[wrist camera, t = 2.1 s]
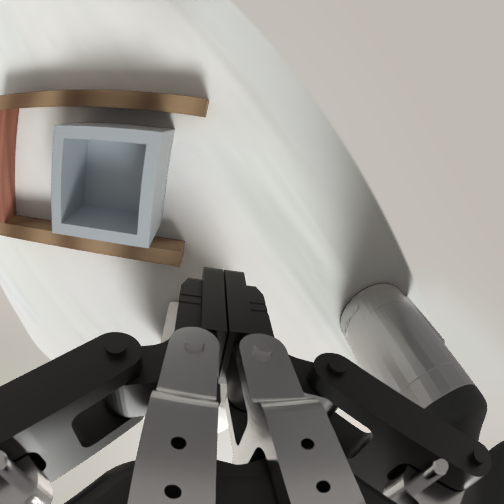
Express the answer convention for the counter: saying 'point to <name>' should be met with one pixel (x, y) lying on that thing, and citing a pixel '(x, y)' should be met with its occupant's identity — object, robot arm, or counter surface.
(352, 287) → the counter surface
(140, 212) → the box
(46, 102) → the bay
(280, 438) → the robot arm
